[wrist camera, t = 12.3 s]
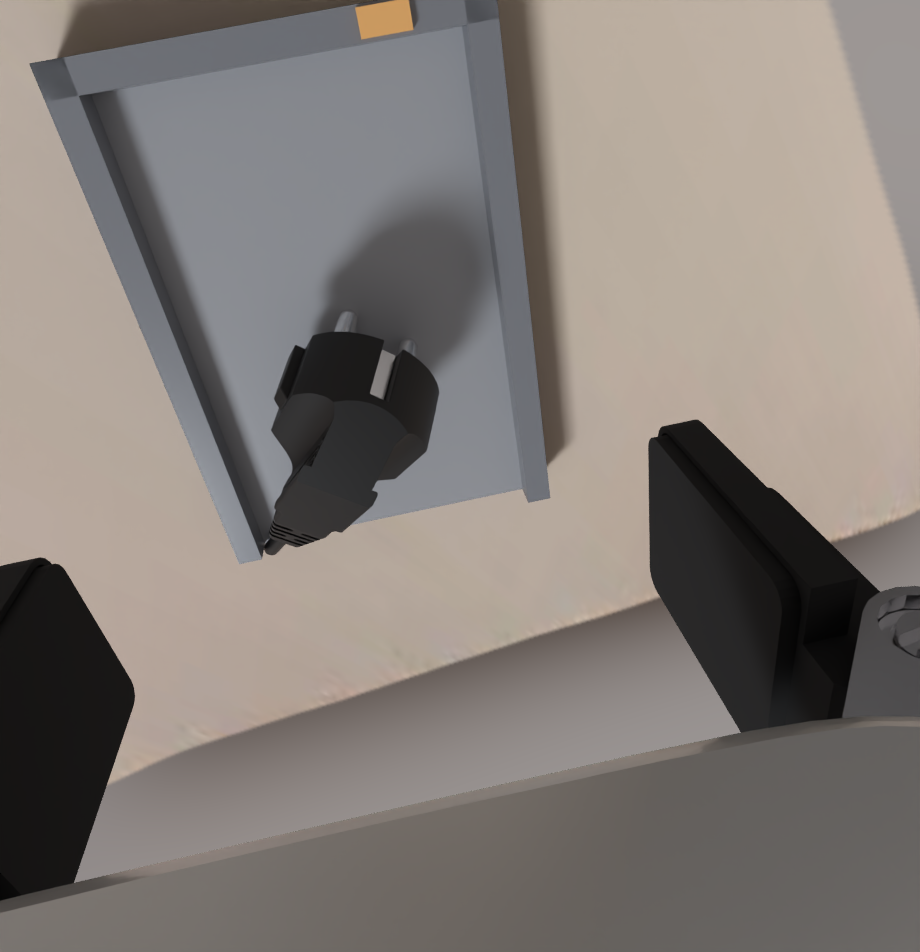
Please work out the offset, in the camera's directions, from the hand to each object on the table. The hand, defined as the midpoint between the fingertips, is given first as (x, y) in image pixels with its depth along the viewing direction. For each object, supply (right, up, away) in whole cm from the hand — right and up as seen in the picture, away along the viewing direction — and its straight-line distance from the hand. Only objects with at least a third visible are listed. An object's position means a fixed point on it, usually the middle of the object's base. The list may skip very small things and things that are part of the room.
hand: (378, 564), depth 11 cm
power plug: (-4, +3, +18) cm, 19 cm away
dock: (-3, +8, +16) cm, 18 cm away
